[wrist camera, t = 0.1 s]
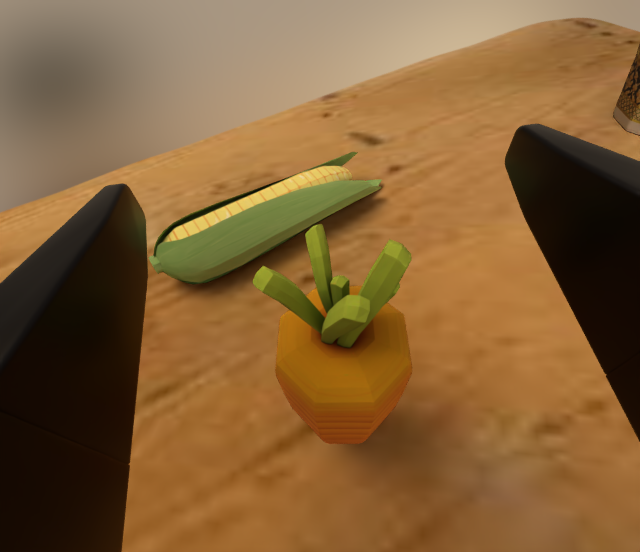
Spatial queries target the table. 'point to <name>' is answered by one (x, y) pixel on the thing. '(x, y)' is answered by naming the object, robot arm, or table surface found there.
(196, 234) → the edible corn
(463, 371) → the table surface
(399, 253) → the carrot
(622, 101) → the ceramic cup
